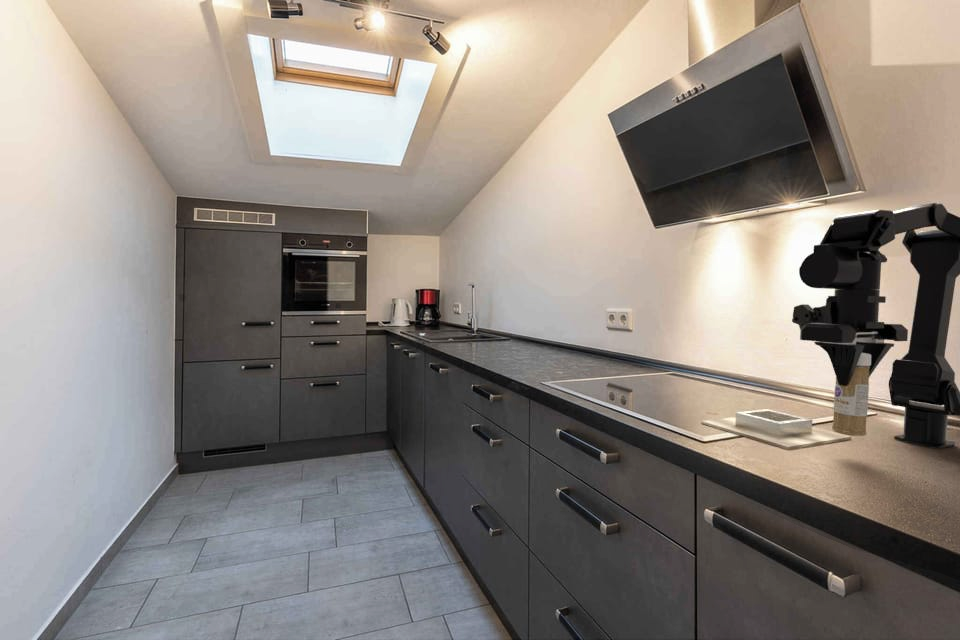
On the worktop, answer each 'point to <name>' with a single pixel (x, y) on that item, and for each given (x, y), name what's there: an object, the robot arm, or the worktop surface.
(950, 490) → the worktop surface
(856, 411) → the sprinkles bottle
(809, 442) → the birch board
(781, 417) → the socket collar
